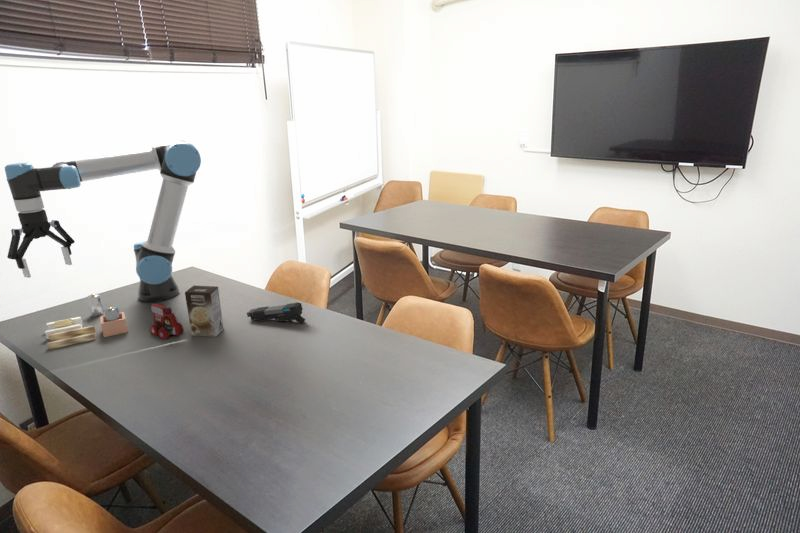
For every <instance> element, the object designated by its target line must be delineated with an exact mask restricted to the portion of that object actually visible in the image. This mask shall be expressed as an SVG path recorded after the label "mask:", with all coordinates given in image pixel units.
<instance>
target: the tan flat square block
mask: <svg viewBox="0 0 800 533" xmlns="http://www.w3.org/2000/svg"><path fill="white" fill-rule="evenodd" d="M61 320H62V321H60V320H56V321H57V322H55V321H54V322H55V326H54V328H55V329H57V328H62V327H67V326H72V319H71V318H67V320H65V319H61Z"/></svg>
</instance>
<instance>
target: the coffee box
mask: <svg viewBox="0 0 800 533" xmlns="http://www.w3.org/2000/svg"><path fill="white" fill-rule="evenodd" d="M219 290H220V289H219V286H211V285H192V286H191V287H190V288H188V289H187V290H186V291H185V292H184V295H185V302H186V308H187V314H188V320H189V328H190V333H191V334H190V335H191V336H194V337H215V338H216V337H217V336H218V335H219V334H221V332H222V331H223V330H224V322H223V314H222V306H221V300H220V299H221V298H220V292H219Z"/></svg>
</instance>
